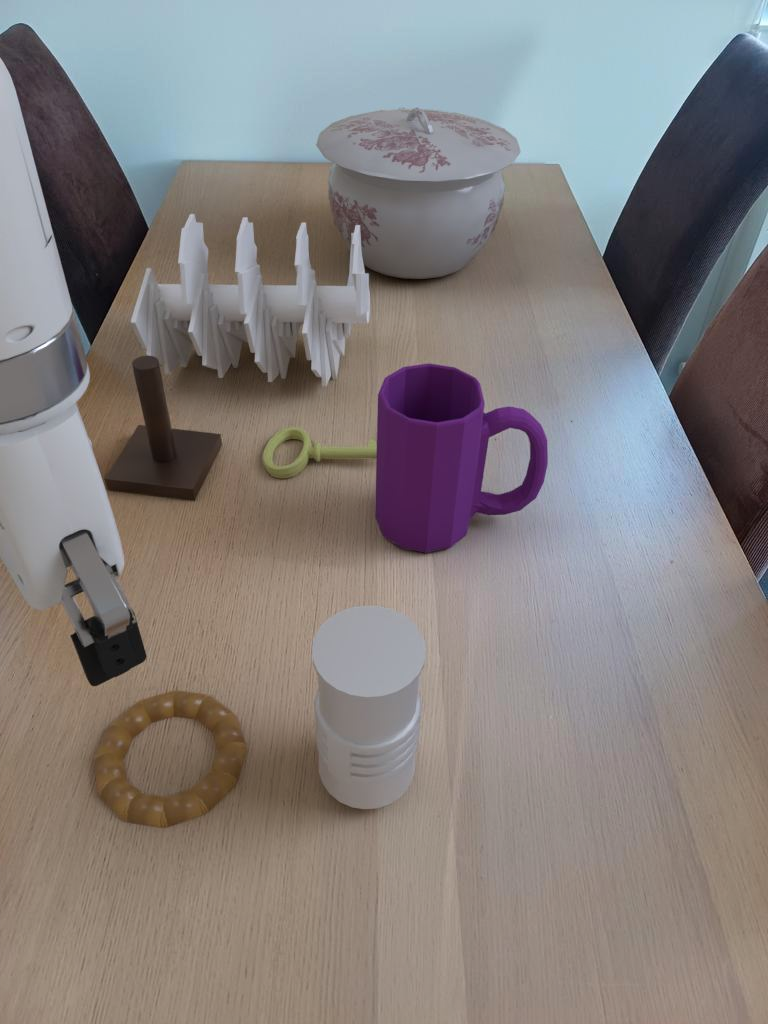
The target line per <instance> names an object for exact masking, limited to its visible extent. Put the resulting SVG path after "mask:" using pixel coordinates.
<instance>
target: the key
mask: <svg viewBox="0 0 768 1024" xmlns="http://www.w3.org/2000/svg"><path fill="white" fill-rule="evenodd" d="M293 439H294V440H300V441H301V442H303V447H302V449H301V452H300V454H299V456H298V457H297V458H296V459H295V460H293V462H292V463H290V464H287V465H277V464H276V465H275V463H274V461H273V456H274V453H275V450H276V449H277V448H278V447H279V445H281V444H282V443H284V442H285V441H288V440H293ZM376 455H377V441H376V439H373V438H369V439H368V444H367V446H322V444H321V443H320V442H316V443H315V444H314V446H312V440H311V438H310V435H309V433H308V432H307V431H306V430H305V429H303V428H302V427H297V426H291V427H287V428H283V429H281V430H279V431H278V432H277V433H275V434H274V435H273V436H272V437H271V438H270V439H269V440H268V442H267V443H266V446H265V448H264V451H263V454H262V464H263V466H264V468H265V470H266V471H267V472H268V474H269V475H270V476H272V477H274V478H277V479H288V478H292V477H295V476H296V475H298V474H299V473H300V472H302V471H303V470H304V469H305V467H306V466H307V464H308V462H309V460H310V459H314V460H315V462H318V463H319V462H321V461H322V459H367V460H368V459H370V460H373V459H374V460H376Z"/></svg>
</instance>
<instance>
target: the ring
mask: <svg viewBox="0 0 768 1024" xmlns="http://www.w3.org/2000/svg"><path fill="white" fill-rule="evenodd" d="M174 717H178V718H186V719H193V720H197V721H198V722H200V724H201V725H203V726H204V727H206V729H208V730H209V731H210V732H212V735H213V738H214V742H215V746H216V750H217V751H216V753H215V757H214V760H213V763H212V765H211V769H210V770H209V772H207V773H206V774H205V775H204V776H203V777H202V778H201V779H200V780H199V781H198V782H197V783H196V784H195V785H194V786H193V787H191V788H188V789H186V790H183V791H180V792H177V793H174V794H171V795H168V796H162V795H156V794H149V793H142V792H141V791H140V790H139V789H138V788H136V787H135V785H134V784H132V783H131V782H130V781H129V780H128V779H127V773H126V767H125V758H126V755H127V753H128V751H129V748H130V746H131V743H132V742H133V739H135V738H136V737H137V736H138V735H139V734H140V733H142V732H143V731H144V730H145V729H147V728H148V726H150V725H151V724H152V723H156V722H159V721H162V720H166V719H169V718H174ZM246 754H247V744H246V741H245V737H244V734H243V730H242V727H241V724H240V721H239V718H238V716H237V715H236V714H235V713H234V712H233V711H231V710H230V709H229V708H227V707H226V706H225V705H224V704H222V703H221V702H220V701H219V700H218V699H216V698H215V697H214V696H212V695H210V694H206V693H200V692H199V693H198V692H193V691H186V690H179V689H177V690H176V689H175V690H171V691H167V692H164V693H160V694H156V695H154V696H150V697H146V698H143V699H140V700H138V701H137V702H136V703H134V704H133V705H132V706H131V707H129V709H127V710H125V712H123V713H122V714H121V715H120V716H118V717H117V718H115V720H113V721H112V722H111V723H110V724H109V725H108V727H107V729H106V731H105V734H104V735H103V738H102V739H101V741H100V744H99V746H98V748H97V750H96V752H95V755H94V757H93V761H92V762H93V770H94V777H95V785H96V791H97V796H98V798H99V799H100V800H101V801H102V802H103V803H104V804H105V805H106V806H107V807H108V808H109V809H110V810H112V812H113V813H114V814H116V816H118V817H119V818H120V819H121V820H122V821H123V822H125V823H129V824H135V825H141V826H148V827H155V828H159V829H165V828H169V827H173V826H175V825H178V824H181V823H184V822H187V821H190V820H193V819H196V818H199V817H203V816H205V815H206V814H208V813H209V812H210V811H211V810H212V809H213V808H214V807H215V806H216V805H217V804H218V803H219V802H220V801H221V800H222V799H223V798H224V797H225V796H226V795H227V794H228V793H229V792H230V791H231V790H232V789H233V788H234V787H235V786H236V785H237V783H238V779H239V776H240V773H241V770H242V766H243V764H244V761H245V758H246Z"/></svg>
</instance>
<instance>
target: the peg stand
mask: <svg viewBox="0 0 768 1024" xmlns="http://www.w3.org/2000/svg"><path fill="white" fill-rule="evenodd" d="M131 367H132V371H133V375H134V380H135V384H136V390H137V395H138V398H139V402H140V408H141V412H142V416H143V421H144V424H138V425H137V426H136V428H135V429H134V432H133V433H132V434H131V436H130V438H129V439H128V441H127V442H126V443H125V445H124V447H123V448H122V450H121V452H120V453H119V454H118V456H117V458H116V460H115V461H114V463H113V464H112V466H111V468H110V469H109V471H108V472H107V474H106V475H105V477H104V482H105V487H106V491H113V492H121V493H128V494H139V495H146V496H153V497H154V496H155V497H162V498H171V499H177V500H179V499H180V500H186V501H196V499H197V497H198V495H199V493H200V491H201V489H202V487H203V485H204V483H205V481H206V479H207V477H208V475H209V473H210V471H211V469H212V467H213V465H214V463H215V460H216V459H217V456H218V454H219V452H220V450H221V448H222V446H223V442H222V435H221V433H216V432H214V433H213V432H208V431H207V432H206V431H198V430H197V431H196V430H190V429H189V430H187V429H179V428H173V427H172V423H171V418H170V412H169V408H168V402H167V397H166V392H165V387H164V382H163V376H162V371H161V365H159V361H158V359H157V358H156V357H154V356H148V355H147V356H146V355H140V356H138V357H135V359H133V360H132V362H131Z"/></svg>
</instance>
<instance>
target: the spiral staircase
mask: <svg viewBox="0 0 768 1024" xmlns="http://www.w3.org/2000/svg"><path fill="white" fill-rule="evenodd" d="M180 230H181V231H180V240H179V251H178V258H177V259H178V260H177V265H178V266H179V273H180V283H158V281H157V279H156V277H155V274H154V271H153V269H152V267H147V268H146V270H145V273H144V276H143V280H142V283H141V286H140V290H139V293H138V296H137V300H136V303H135V306H134V309H133V313H132V316H131V319H130V325H131V327H132V329H133V332H134V334H135V336H136V338H137V341H138V342H139V345H140V348H141V349H142V350H145V349H146V355H145V356H147V355H148V356H154V357H156V358H157V359H158V361H159V366H163V370H164V374H165V375H170V374H171V373H172V371H173V370H174V369H176V368H177V366H178V365H179V364H181V366H182V368H187V367H188V363H189V360H190V357H191V356H190V355H191V351H192V347H194V350H195V352H196V354H197V356H198V357H199V356H200V357H201V359H202V361H201V363H202V366H204V367H206V368H209V369H211V370H217V377H218V379H223V378H224V377H225V375H226V373H227V371H228V370H229V368H230V366H231V364H232V368H234V369H235V368H239V360H240V356H241V350H242V344H243V342H245V343H246V342H247V343H248V347H249V351H250V353H252V354H254V364H256V366H257V367H258V368H259V370H261V372H262V373H263V374H264V373H265V374H266V373H267V382H268V383H273V382H274V381H275V379H276V378H277V377H278V376H279V374H280V379H282V380H286V378H287V373H288V368H289V364H290V363H289V362H290V358H291V359H296V347H297V346H296V344H297V337H298V335H299V332H300V329H301V327H302V330H301V331H302V332H301V335H302V341H303V346H304V352H305V356H306V357H305V358H306V360H307V361H311V362H310V363H311V364H310V365H311V366H310V367H311V368H310V371H312V373H313V374H314V375H315V376H316V378H321V387H327V386H328V384H329V381H330V379H331V378H332V380H333V381H338V374H339V373H338V372H339V365H340V358H341V357H345V352H346V351H345V350H346V349H345V348H346V339H349V338H350V335H351V330H352V326H354V325H356V324H369V323H370V316H371V295H370V294H371V292H370V273H369V272H367V273H366V271H365V265H364V264H363V258H362V250H361V233H360V225H356V226H355V231H354V233H351V250H350V255H349V269H348V270H349V271H348V278H347V283H346V285H317V279H316V270H315V269H313V268H312V265H311V261H310V251H309V234H308V230H307V222H301V223H300V225H299V229H298V230H297V234H296V236H295V245H296V247H295V255H294V269H295V272H296V280H295V285H293V284H292V285H291V284H290V285H287V284H286V285H283V284H277V285H276V284H264V282H263V277H262V274H261V265H260V264H258V263H257V256H258V255H257V254H258V247H257V245H256V243H255V235H254V222H253V221H252V222H250V221H249V219H248V217H247V216H243V217H242V219H241V223H240V224H239V229H238V232H237V236H236V247H235V250H236V251H235V262H234V263H235V265H234V273H235V276H237V284H210V276H209V266H208V261H209V252H210V251H209V248H208V246H207V244H206V242H205V239H204V223H203V222H197V219H196V214H195V213H190V214H189V215H188V217H187V220H186V222H185V224H184V226H183V227H181V229H180Z"/></svg>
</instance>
